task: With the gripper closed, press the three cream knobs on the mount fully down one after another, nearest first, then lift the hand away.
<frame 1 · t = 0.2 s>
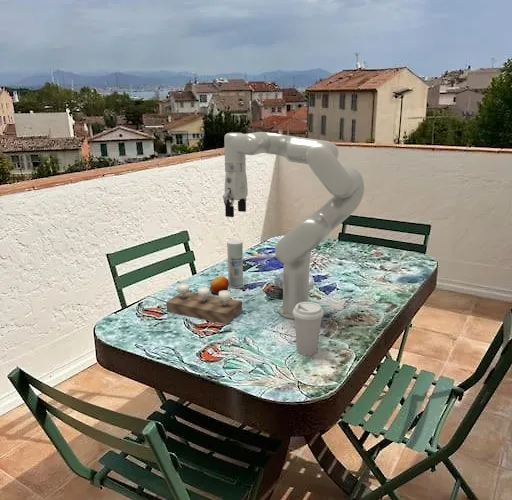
hand: (236, 213, 171), 36 cm above the table, tool pointing down, fingers open, 9 cm apart
spray can: (235, 286, 198), on the table
mount: (204, 311, 174), on the table
knob far: (183, 291, 175), point 7 cm above the table, slide at 2.5 cm
knob mid: (203, 295, 172), point 7 cm above the table, slide at 2.5 cm
fruit: (219, 292, 192), on the table
coffee cup: (306, 350, 145), on the table
knob near: (224, 299, 168), point 7 cm above the table, slide at 2.5 cm
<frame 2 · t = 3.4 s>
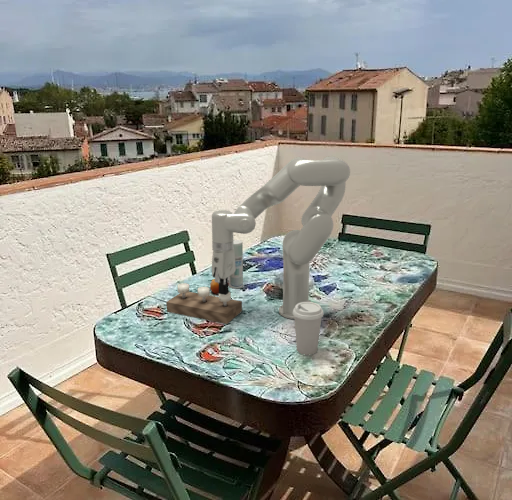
hand: (223, 293, 167), 9 cm above the table, tool pointing down, fingers closed
knob near: (224, 299, 168), point 6 cm above the table, slide at 2.1 cm, touching gripper
everything else where it was.
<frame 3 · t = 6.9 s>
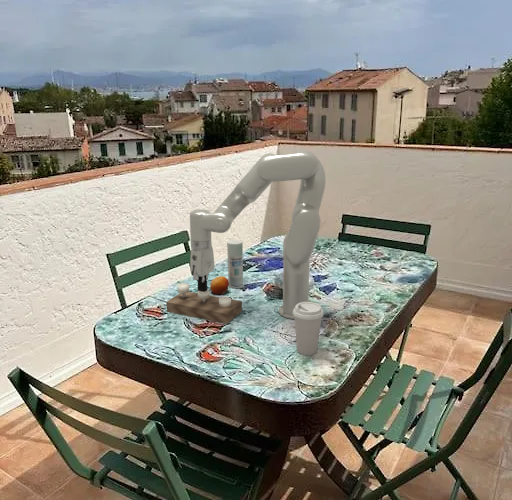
hand: (202, 290, 171), 9 cm above the table, tool pointing down, fingers closed
knob mid: (203, 297, 172), point 6 cm above the table, slide at 1.7 cm, touching gripper
knob near: (225, 305, 169), point 4 cm above the table, slide at -0.1 cm
everything else where it was.
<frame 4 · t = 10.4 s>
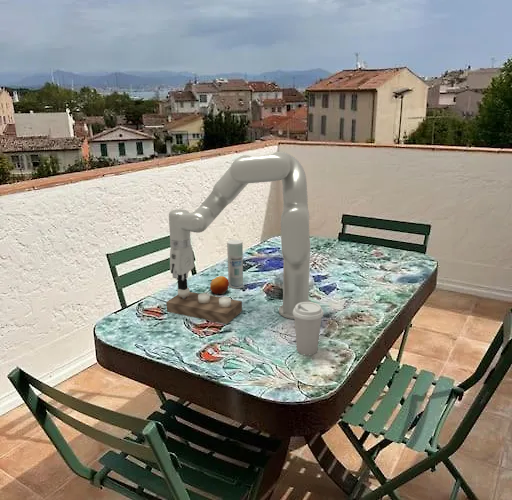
hand: (182, 288, 175), 8 cm above the table, tool pointing down, fingers closed
knob far: (183, 295, 176), point 5 cm above the table, slide at 1.0 cm, touching gripper
knob mid: (204, 301, 173), point 4 cm above the table, slide at -0.1 cm
everything else where it was.
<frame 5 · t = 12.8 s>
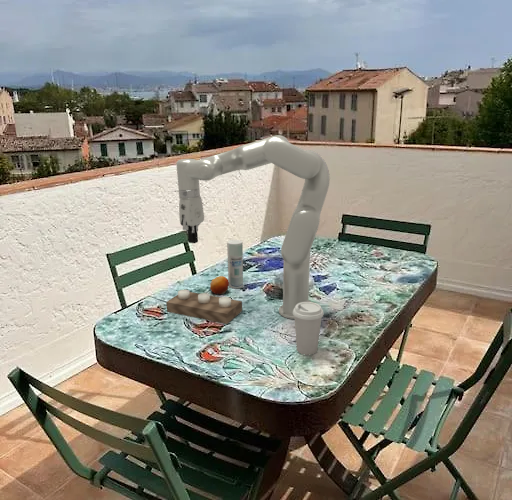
hand: (193, 242, 170), 26 cm above the table, tool pointing down, fingers closed
knob far: (184, 297, 176), point 4 cm above the table, slide at -0.1 cm
everything else where it was.
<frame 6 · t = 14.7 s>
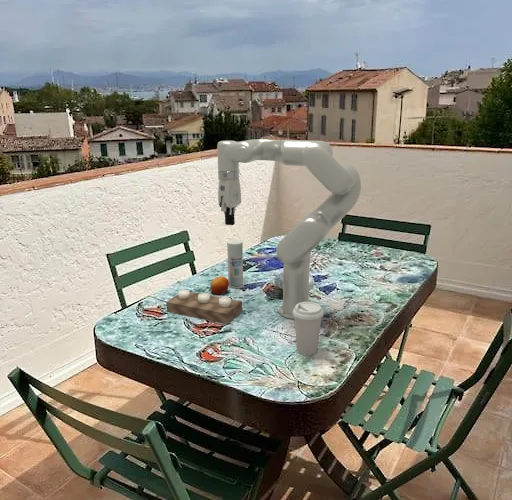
hand: (229, 224, 171), 32 cm above the table, tool pointing down, fingers closed
nothing on the table moved.
at the end: knob near slide at -0.1 cm; knob mid slide at -0.1 cm; knob far slide at -0.1 cm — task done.
